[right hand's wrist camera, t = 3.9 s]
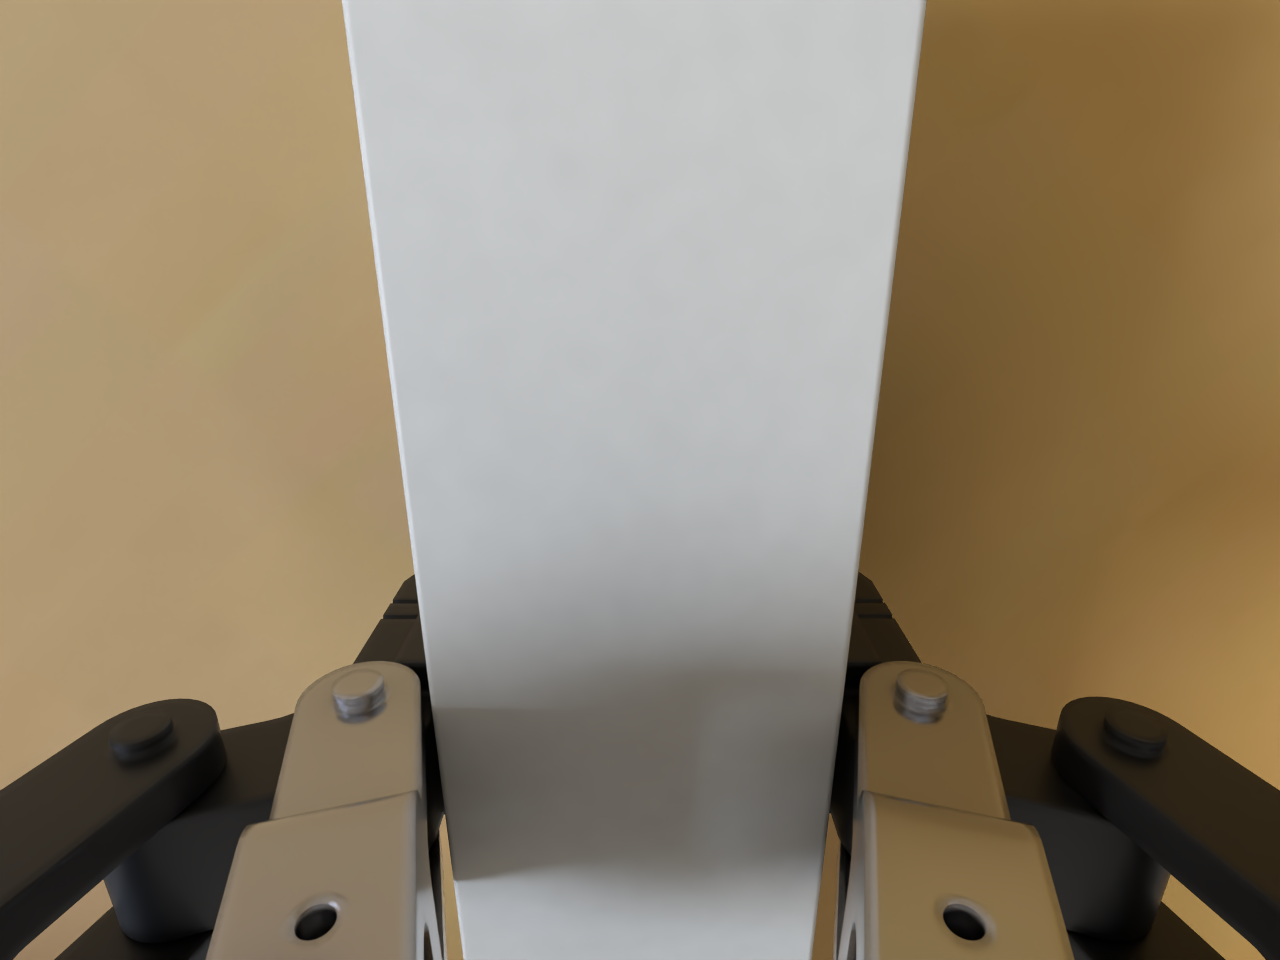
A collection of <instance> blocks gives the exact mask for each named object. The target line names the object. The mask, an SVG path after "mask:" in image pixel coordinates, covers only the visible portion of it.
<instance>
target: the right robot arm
mask: <svg viewBox="0 0 1280 960" xmlns="http://www.w3.org/2000/svg"><path fill="white" fill-rule="evenodd" d="M829 813H831V815H832V818H833V821H834V824H835V827H836V831H837V834H838V837H839V839H840V840H839V848H838V855H837V876H836V898H835V921H834V944H833V960H1225V959H1224V958H1223V957H1222V956H1221V955H1220V954H1219V953H1218V952H1217V951H1215V950H1214V949H1213V948H1212V947H1211V946H1210V945H1209V944H1208V943H1207V942H1206V941H1204V940H1203V939H1202V938H1201V937H1200V936H1199V935H1198V934H1197V933H1196V932H1195V931H1193V930H1192V929H1191V928H1190V927H1189V926H1188V925H1187V924H1186V923H1185V922H1184V921H1183V920H1181V919H1180V918H1179V917H1178V916H1177V915H1176V914H1175V913H1174V912H1173V911H1172V910H1170V909H1169V908H1168V907H1167V906H1166V905H1165V904H1164V903H1163V902H1162V901H1161V900H1162V897H1163V894H1164V891H1165V888H1166V886H1167V883H1168V880H1169V877H1170V874H1171V875H1172V876H1174V877H1175V878H1176V879H1177V880H1178V881H1179V882H1181V883H1182V884H1183V885H1184V886H1185V887H1186V888H1188V889H1189V890H1190V891H1191V892H1192V893H1193V894H1194V895H1196V896H1197V897H1198V898H1199V899H1200V900H1201V901H1203V902H1204V903H1205V904H1206V905H1207V906H1208V907H1209V908H1211V909H1212V910H1213V911H1214V912H1215V913H1216V914H1218V915H1219V916H1220V917H1221V918H1222V919H1223V920H1225V921H1226V922H1227V923H1228V924H1229V925H1230V926H1231V927H1233V928H1234V929H1235V930H1236V931H1237V932H1238V933H1240V934H1241V935H1242V936H1243V937H1244V938H1245V939H1246V940H1248V941H1249V942H1250V943H1251V944H1252V945H1253V946H1254V947H1255V948H1256V949H1257V950H1258V951H1259V952H1260V953H1261V954H1262V956H1263V957H1264V958H1265V959H1266V960H1280V791H1279V790H1278V789H1276V788H1275V787H1273V786H1272V785H1270V784H1269V783H1267V782H1266V781H1264V780H1263V779H1261V778H1260V777H1258V776H1257V775H1255V774H1254V773H1252V772H1251V771H1249V770H1248V769H1246V768H1245V767H1243V766H1242V765H1240V764H1239V763H1237V762H1236V761H1234V760H1233V759H1231V758H1230V757H1228V756H1227V755H1225V754H1224V753H1222V752H1221V751H1219V750H1218V749H1216V748H1215V747H1213V746H1212V745H1210V744H1209V743H1207V742H1206V741H1204V740H1203V739H1201V738H1200V737H1198V736H1197V735H1195V734H1194V733H1192V732H1191V731H1189V730H1188V729H1186V728H1185V727H1183V726H1182V725H1180V724H1178V723H1177V722H1175V721H1173V720H1172V719H1170V718H1168V717H1166V716H1164V715H1162V714H1160V713H1158V712H1156V711H1154V710H1152V709H1149V708H1147V707H1144V706H1141V705H1138V704H1135V703H1132V702H1128V701H1124V700H1120V699H1114V698H1108V697H1085V698H1079V699H1076V700H1073V701H1071V702H1069V703H1068V704H1066V705H1065V706H1064V708H1063V709H1062V711H1061V714H1060V718H1059V722H1058V726H1057V730H1053V729H1048V728H1043V727H1039V726H1034V725H1029V724H1024V723H1019V722H1015V721H1010V720H1005V719H1001V718H997V717H993V716H990V715H987V714H986V712H985V708H984V704H983V702H982V699H981V698H980V696H979V695H978V693H977V692H976V691H975V690H974V689H973V688H972V687H971V686H970V685H969V684H967V683H966V682H965V681H964V680H962V679H960V678H959V677H957V676H956V675H954V674H952V673H950V672H948V671H945V670H943V669H940V668H938V667H935V666H931V665H928V664H923V663H921V661H920V659H919V658H918V656H917V655H916V653H915V651H914V650H913V648H912V646H911V645H910V643H909V641H908V640H907V638H906V637H905V635H904V633H903V632H902V630H901V628H900V627H899V625H898V624H897V622H896V620H895V619H892V614H891V612H890V610H889V609H888V607H887V606H886V604H885V603H883V599H882V597H881V596H880V594H879V592H878V591H877V589H876V588H875V586H874V584H873V583H872V581H871V580H869V579H868V578H867V577H865V576H864V575H862V574H861V573H859V572H858V577H857V586H856V594H855V602H854V611H853V619H852V627H851V636H850V644H849V652H848V661H847V669H846V677H845V686H844V694H843V702H842V710H841V719H840V727H839V735H838V744H837V752H836V760H835V769H834V777H833V785H832V794H831V802H830V810H829ZM444 814H445V808H444V800H443V792H442V785H441V777H440V769H439V761H438V753H437V745H436V737H435V729H434V722H433V714H432V706H431V698H430V690H429V682H428V674H427V666H426V658H425V651H424V643H423V635H422V627H421V619H420V611H419V603H418V595H417V588H416V580H415V574H414V575H413V576H411V577H410V578H409V579H407V580H406V581H404V583H403V584H402V586H401V588H400V589H399V591H398V592H397V594H396V596H395V597H394V599H393V604H390V605H389V607H388V609H387V610H386V612H385V613H384V615H383V619H381V620H380V621H379V623H378V625H377V626H376V628H375V629H374V631H373V633H372V634H371V636H370V637H369V639H368V641H367V642H366V644H365V646H364V647H363V649H362V650H361V652H360V654H359V655H358V657H357V658H356V660H355V662H354V663H353V664H352V665H349V666H345V667H342V668H340V669H337V670H335V671H332V672H330V673H328V674H326V675H324V676H323V677H321V678H320V679H318V680H316V681H315V682H314V683H313V684H311V685H310V686H309V687H308V688H307V689H306V690H305V691H304V692H303V693H302V695H301V696H300V698H299V699H298V702H297V704H296V708H295V712H294V713H293V714H290V715H287V716H284V717H281V718H277V719H273V720H269V721H264V722H259V723H255V724H250V725H245V726H240V727H235V728H230V729H226V730H221V731H220V727H219V723H218V719H217V716H216V713H215V711H214V709H213V708H212V707H211V706H210V705H208V704H206V703H204V702H201V701H198V700H193V699H169V700H163V701H157V702H153V703H149V704H145V705H142V706H139V707H136V708H133V709H130V710H128V711H126V712H123V713H121V714H119V715H117V716H115V717H113V718H111V719H109V720H107V721H105V722H104V723H102V724H100V725H99V726H97V727H95V728H94V729H92V730H91V731H89V732H88V733H86V734H85V735H83V736H82V737H80V738H79V739H77V740H76V741H74V742H73V743H71V744H70V745H68V746H67V747H65V748H64V749H62V750H61V751H59V752H58V753H56V754H55V755H53V756H52V757H50V758H49V759H47V760H46V761H44V762H43V763H41V764H40V765H38V766H37V767H35V768H34V769H32V770H31V771H29V772H28V773H26V774H25V775H23V776H22V777H20V778H19V779H17V780H16V781H14V782H13V783H11V784H10V785H8V786H7V787H5V788H4V789H2V790H1V791H0V960H13V959H14V958H15V957H16V955H17V954H18V953H19V952H20V951H21V950H22V949H23V948H24V947H25V946H27V945H28V944H29V943H30V942H31V941H32V940H33V939H35V938H36V937H37V936H38V935H39V934H40V933H42V932H43V931H44V930H45V929H46V928H47V927H49V926H50V925H51V924H52V923H53V922H54V921H55V920H57V919H58V918H59V917H60V916H61V915H62V914H64V913H65V912H66V911H67V910H68V909H69V908H70V907H72V906H73V905H74V904H75V903H76V902H77V901H79V900H80V899H81V898H82V897H83V896H84V895H86V894H87V893H88V892H89V891H90V890H91V889H92V888H94V887H95V886H96V885H97V884H98V883H99V882H101V881H102V880H103V879H104V882H105V885H106V888H107V890H108V893H109V896H110V899H111V902H112V904H113V907H112V908H111V909H110V910H108V911H107V912H106V913H105V914H104V915H103V916H102V917H101V918H100V919H99V920H97V921H96V922H95V923H94V924H93V925H92V926H91V927H90V928H89V929H88V930H87V931H85V932H84V933H83V934H82V935H81V936H80V937H79V938H78V939H77V940H76V941H74V942H73V943H72V944H71V945H70V946H69V947H68V948H67V949H66V950H65V951H63V952H62V953H61V954H60V955H59V956H58V957H57V958H56V959H55V960H447V944H446V921H445V898H444V875H443V855H442V848H441V840H440V832H439V827H440V824H441V821H442V818H443V815H444Z"/></svg>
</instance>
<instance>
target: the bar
mask: <svg viewBox="0 0 1280 960" xmlns="http://www.w3.org/2000/svg"><path fill="white" fill-rule="evenodd" d="M926 3H927V0H342V5H343V12H344V20H345V28H346V36H347V44H348V52H349V60H350V68H351V76H352V83H353V91H354V99H355V107H356V115H357V123H358V131H359V139H360V146H361V154H362V162H363V170H364V178H365V186H366V194H367V202H368V209H369V217H370V225H371V233H372V241H373V249H374V257H375V265H376V272H377V280H378V288H379V296H380V304H381V312H382V320H383V328H384V335H385V343H386V351H387V359H388V367H389V375H390V383H391V391H392V399H393V406H394V414H395V422H396V430H397V438H398V446H399V454H400V462H401V469H402V477H403V485H404V493H405V501H406V509H407V517H408V525H409V532H410V540H411V548H412V556H413V564H414V572H415V580H416V588H417V595H418V603H419V611H420V619H421V627H422V635H423V643H424V651H425V658H426V666H427V674H428V682H429V690H430V698H431V706H432V714H433V722H434V729H435V737H436V745H437V753H438V761H439V769H440V777H441V785H442V792H443V800H444V808H445V816H446V824H447V832H448V840H449V848H450V855H451V863H452V871H453V879H454V887H455V895H456V903H457V911H458V918H459V926H460V934H461V942H462V950H463V958H464V960H812V952H813V943H814V935H815V927H816V918H817V910H818V902H819V894H820V885H821V877H822V869H823V860H824V852H825V844H826V835H827V827H828V819H829V810H830V802H831V794H832V785H833V777H834V769H835V760H836V752H837V744H838V735H839V727H840V719H841V710H842V702H843V694H844V686H845V677H846V669H847V661H848V652H849V644H850V636H851V627H852V619H853V611H854V602H855V594H856V586H857V577H858V569H859V561H860V552H861V544H862V536H863V527H864V519H865V511H866V502H867V494H868V486H869V477H870V469H871V461H872V453H873V444H874V436H875V428H876V419H877V411H878V403H879V394H880V386H881V378H882V369H883V361H884V353H885V344H886V336H887V328H888V319H889V311H890V303H891V294H892V286H893V278H894V269H895V261H896V253H897V245H898V236H899V228H900V220H901V211H902V203H903V195H904V186H905V178H906V170H907V161H908V153H909V145H910V136H911V128H912V120H913V111H914V103H915V95H916V86H917V78H918V70H919V61H920V53H921V45H922V36H923V28H924V20H925V12H926Z"/></svg>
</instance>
